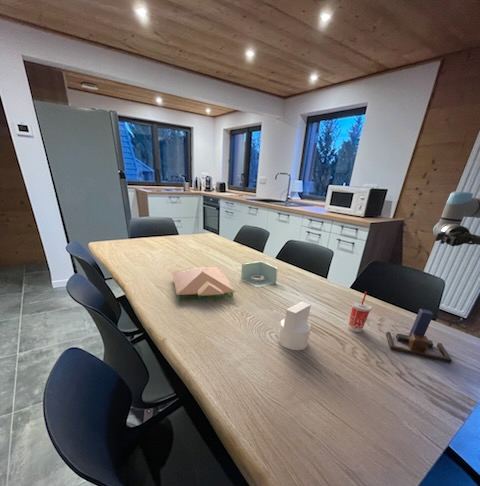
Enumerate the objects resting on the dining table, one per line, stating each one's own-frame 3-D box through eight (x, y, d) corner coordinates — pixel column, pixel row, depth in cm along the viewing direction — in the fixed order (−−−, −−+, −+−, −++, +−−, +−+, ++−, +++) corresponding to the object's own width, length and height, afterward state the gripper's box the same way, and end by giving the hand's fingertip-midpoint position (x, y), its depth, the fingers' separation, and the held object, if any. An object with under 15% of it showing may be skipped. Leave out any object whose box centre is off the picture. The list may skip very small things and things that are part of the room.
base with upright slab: (297, 353, 76) (304, 317, 70) (272, 340, 81) (277, 305, 76) (312, 342, 82) (320, 307, 77) (288, 330, 87) (294, 297, 82)
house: (177, 305, 97) (177, 285, 94) (171, 275, 126) (171, 258, 122) (237, 302, 104) (238, 282, 101) (218, 273, 132) (219, 258, 129)
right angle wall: (241, 278, 128) (242, 263, 125) (259, 275, 135) (261, 261, 132) (256, 287, 120) (258, 271, 117) (275, 283, 127) (277, 268, 123)
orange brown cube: (421, 346, 84) (426, 336, 82) (424, 353, 81) (429, 342, 79) (407, 343, 85) (411, 333, 84) (410, 350, 82) (414, 339, 80)
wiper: (429, 344, 86) (443, 312, 81) (432, 348, 83) (447, 317, 78) (395, 336, 89) (407, 306, 84) (397, 341, 86) (409, 310, 81)
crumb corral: (439, 346, 85) (441, 343, 85) (450, 363, 77) (452, 360, 76) (386, 334, 90) (387, 331, 89) (390, 349, 81) (391, 346, 81)
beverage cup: (367, 330, 91) (379, 293, 85) (358, 335, 88) (370, 296, 82) (351, 322, 96) (362, 286, 90) (342, 326, 92) (352, 290, 86)
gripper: (487, 248, 104) (518, 262, 85) (416, 239, 110) (431, 250, 92) (496, 229, 100) (531, 239, 82) (423, 221, 107) (439, 228, 89)
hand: (478, 245), depth 87 cm, fingers open, 13 cm apart
